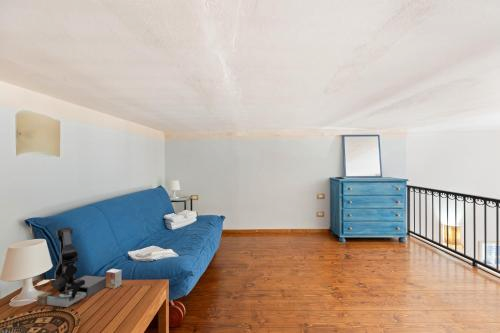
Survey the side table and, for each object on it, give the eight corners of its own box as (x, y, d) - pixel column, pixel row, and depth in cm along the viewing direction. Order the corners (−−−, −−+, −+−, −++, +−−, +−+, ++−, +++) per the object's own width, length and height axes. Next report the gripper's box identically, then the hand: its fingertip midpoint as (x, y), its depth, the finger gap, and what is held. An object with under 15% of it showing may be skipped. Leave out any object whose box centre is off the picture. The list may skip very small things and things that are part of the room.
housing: (65, 294, 150) (65, 284, 150) (85, 284, 164) (85, 275, 164) (88, 297, 147) (88, 287, 147) (106, 286, 161) (106, 277, 161)
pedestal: (37, 304, 138) (37, 295, 138) (45, 300, 143) (46, 291, 143) (44, 305, 137) (44, 296, 137) (52, 301, 142) (52, 292, 142)
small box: (105, 287, 160) (105, 271, 160) (112, 283, 165) (112, 268, 165) (114, 288, 157) (115, 272, 158) (121, 285, 163) (121, 269, 163)
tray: (47, 304, 138) (47, 297, 138) (69, 293, 151) (69, 286, 151) (67, 307, 135) (67, 299, 135) (87, 295, 148) (88, 288, 148)
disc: (68, 291, 147) (68, 289, 147) (79, 292, 146) (79, 290, 146) (55, 298, 140) (55, 295, 140) (67, 299, 138) (67, 296, 138)
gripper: (41, 275, 137) (41, 302, 137) (68, 277, 134) (68, 306, 133) (60, 267, 148) (60, 293, 148) (86, 270, 144) (85, 296, 144)
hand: (67, 297), depth 143 cm, fingers closed on disc, 8 cm apart
